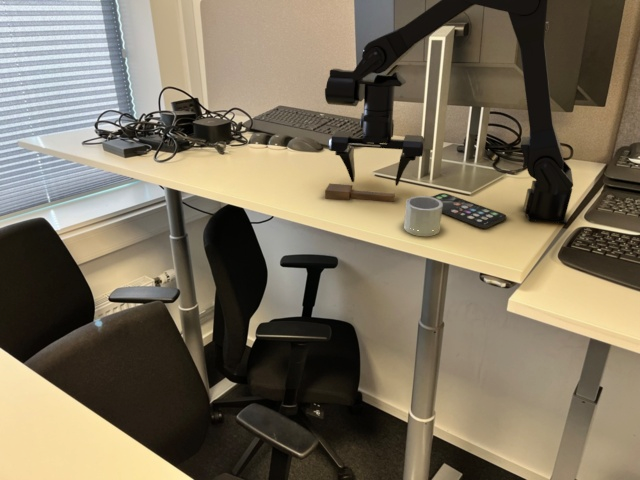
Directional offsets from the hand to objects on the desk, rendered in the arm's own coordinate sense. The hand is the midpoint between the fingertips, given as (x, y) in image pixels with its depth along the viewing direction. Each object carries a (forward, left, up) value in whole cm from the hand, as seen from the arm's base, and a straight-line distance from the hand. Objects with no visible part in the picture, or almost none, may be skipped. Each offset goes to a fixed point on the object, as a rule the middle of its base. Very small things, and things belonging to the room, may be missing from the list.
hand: (374, 183), depth 98 cm
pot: (-11, +16, -2) cm, 19 cm away
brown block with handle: (+2, +4, -2) cm, 5 cm away
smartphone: (-18, +7, -2) cm, 19 cm away
